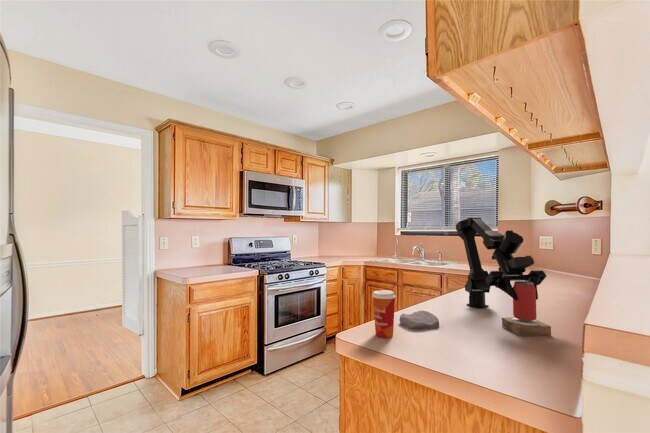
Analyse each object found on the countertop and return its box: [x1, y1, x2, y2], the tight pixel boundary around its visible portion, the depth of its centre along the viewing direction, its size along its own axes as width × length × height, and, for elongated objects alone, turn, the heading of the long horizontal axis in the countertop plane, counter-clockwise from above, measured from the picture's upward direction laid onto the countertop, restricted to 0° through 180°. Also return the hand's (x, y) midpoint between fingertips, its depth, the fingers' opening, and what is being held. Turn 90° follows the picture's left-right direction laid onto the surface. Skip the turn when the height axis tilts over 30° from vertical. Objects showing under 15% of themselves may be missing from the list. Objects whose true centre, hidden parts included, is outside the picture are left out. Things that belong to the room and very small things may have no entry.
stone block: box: [398, 310, 440, 330], centre depth 112 cm, size 12×5×10 cm
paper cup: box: [371, 289, 396, 339], centre depth 102 cm, size 8×8×14 cm
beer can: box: [512, 281, 537, 321], centre depth 105 cm, size 7×7×12 cm
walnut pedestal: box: [501, 316, 552, 337], centre depth 104 cm, size 10×10×3 cm
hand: (526, 299), depth 104 cm, fingers closed on beer can, 6 cm apart
